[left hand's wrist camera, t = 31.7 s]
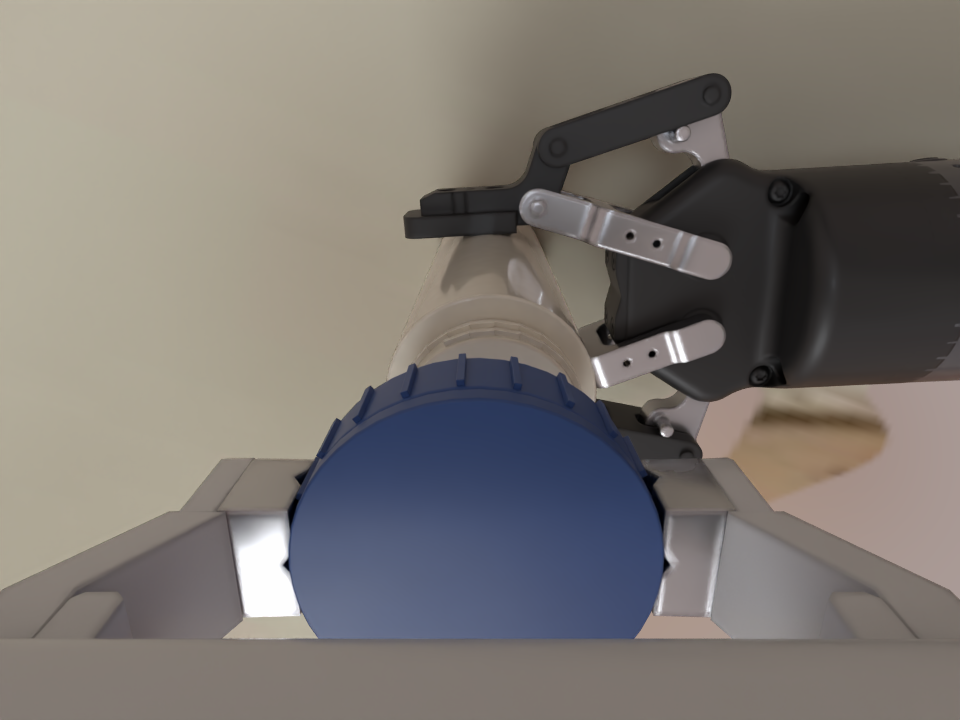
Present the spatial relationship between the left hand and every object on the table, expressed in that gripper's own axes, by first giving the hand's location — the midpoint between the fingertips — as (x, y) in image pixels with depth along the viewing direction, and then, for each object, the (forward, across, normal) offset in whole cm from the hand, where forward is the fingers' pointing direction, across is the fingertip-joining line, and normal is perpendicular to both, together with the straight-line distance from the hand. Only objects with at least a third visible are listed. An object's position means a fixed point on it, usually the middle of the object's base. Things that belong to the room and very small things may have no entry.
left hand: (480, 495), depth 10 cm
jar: (+19, 0, 0) cm, 19 cm away
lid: (-2, 0, 0) cm, 2 cm away
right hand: (+13, -2, 0) cm, 13 cm away
